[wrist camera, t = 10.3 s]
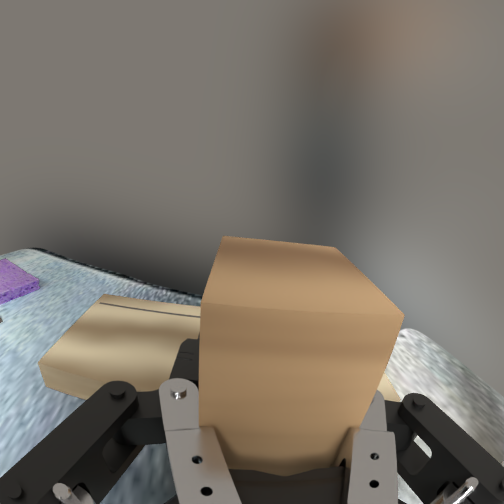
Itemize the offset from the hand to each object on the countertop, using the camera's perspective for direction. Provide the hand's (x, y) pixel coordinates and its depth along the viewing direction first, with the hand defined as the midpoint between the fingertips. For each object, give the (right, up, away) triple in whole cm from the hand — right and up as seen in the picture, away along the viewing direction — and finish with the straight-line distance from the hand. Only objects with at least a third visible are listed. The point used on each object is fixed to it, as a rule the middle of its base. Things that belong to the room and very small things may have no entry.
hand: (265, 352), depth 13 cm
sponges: (-33, 0, +16) cm, 37 cm away
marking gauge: (-1, -6, +5) cm, 8 cm away
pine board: (-3, -5, +9) cm, 11 cm away
